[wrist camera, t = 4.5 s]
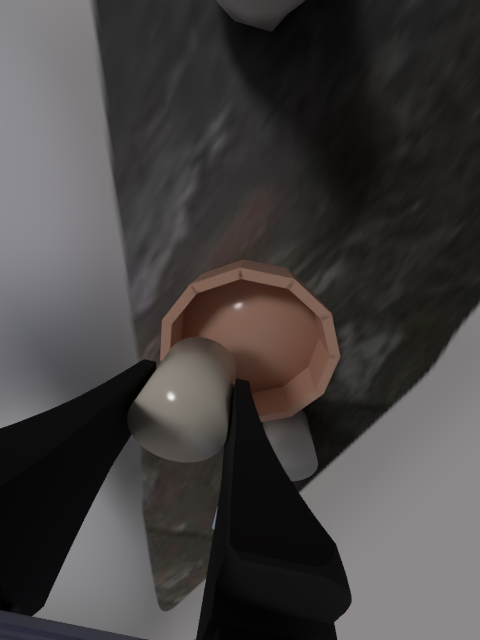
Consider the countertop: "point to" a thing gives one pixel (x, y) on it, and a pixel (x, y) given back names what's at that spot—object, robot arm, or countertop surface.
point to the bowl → (261, 332)
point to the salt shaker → (259, 11)
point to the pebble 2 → (293, 445)
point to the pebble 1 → (186, 402)
